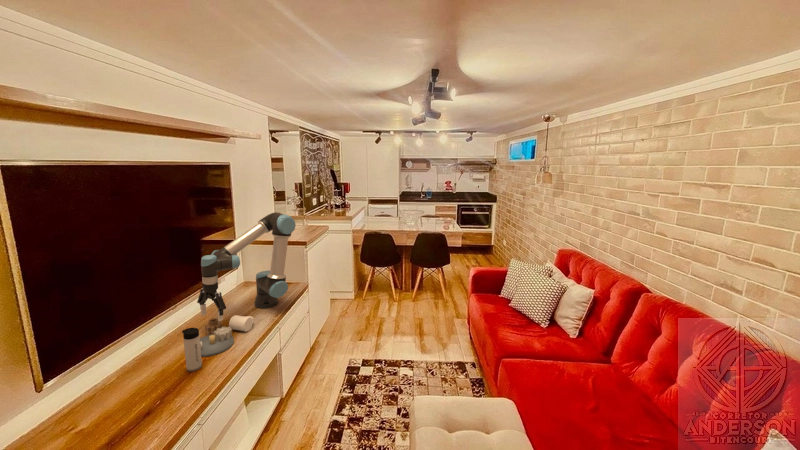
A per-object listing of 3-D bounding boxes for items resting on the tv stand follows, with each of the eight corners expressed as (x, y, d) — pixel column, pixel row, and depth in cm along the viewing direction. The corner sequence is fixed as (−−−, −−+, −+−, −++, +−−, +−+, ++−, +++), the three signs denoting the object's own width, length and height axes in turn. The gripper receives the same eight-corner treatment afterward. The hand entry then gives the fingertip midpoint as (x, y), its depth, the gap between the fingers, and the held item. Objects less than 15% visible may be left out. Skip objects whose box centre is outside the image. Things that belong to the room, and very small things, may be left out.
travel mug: (187, 365, 155) (183, 327, 151) (203, 362, 158) (199, 325, 154) (184, 373, 150) (180, 334, 146) (200, 370, 152) (197, 331, 148)
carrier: (217, 331, 185) (216, 321, 184) (243, 340, 178) (242, 330, 177) (181, 350, 166) (180, 339, 165) (208, 360, 159) (207, 349, 158)
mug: (244, 334, 184) (243, 321, 182) (229, 331, 186) (228, 319, 184) (257, 324, 195) (256, 312, 194) (243, 321, 197) (242, 309, 196)
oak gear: (215, 325, 191) (214, 315, 190) (225, 329, 188) (224, 318, 187) (202, 332, 184) (201, 321, 182) (212, 335, 181) (211, 325, 179)
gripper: (188, 280, 181) (190, 315, 185) (220, 289, 172) (222, 325, 176) (201, 276, 188) (203, 310, 192) (232, 284, 179) (233, 319, 183)
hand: (212, 317), depth 184 cm, fingers open, 13 cm apart
